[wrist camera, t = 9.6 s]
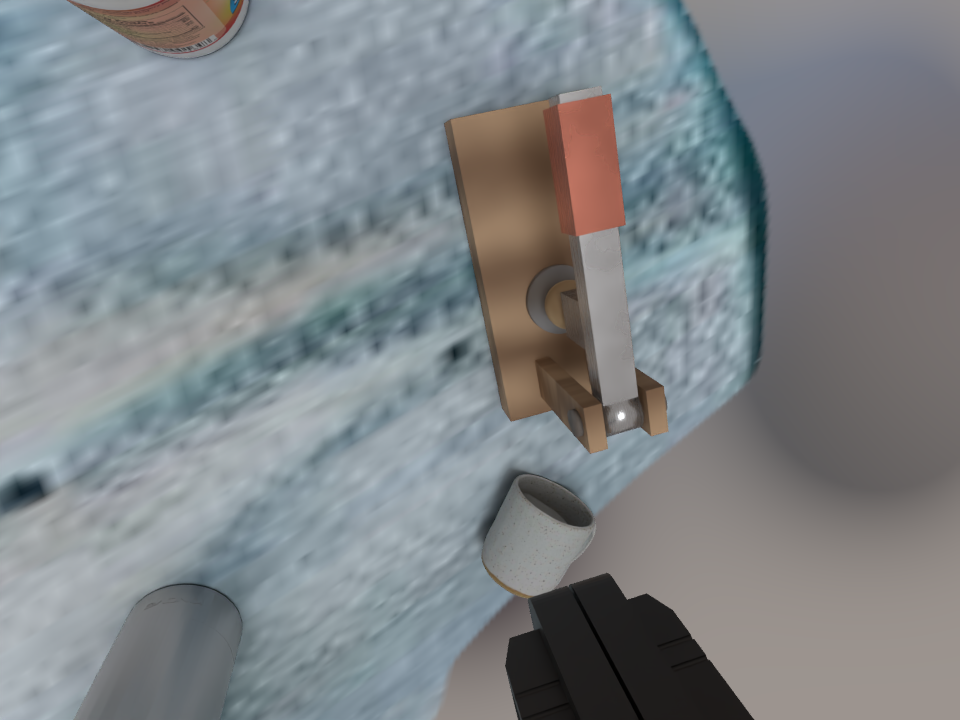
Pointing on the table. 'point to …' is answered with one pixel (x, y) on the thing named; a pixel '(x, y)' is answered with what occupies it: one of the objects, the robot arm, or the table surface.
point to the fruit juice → (171, 23)
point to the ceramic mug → (536, 536)
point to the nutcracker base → (528, 273)
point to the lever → (594, 248)
